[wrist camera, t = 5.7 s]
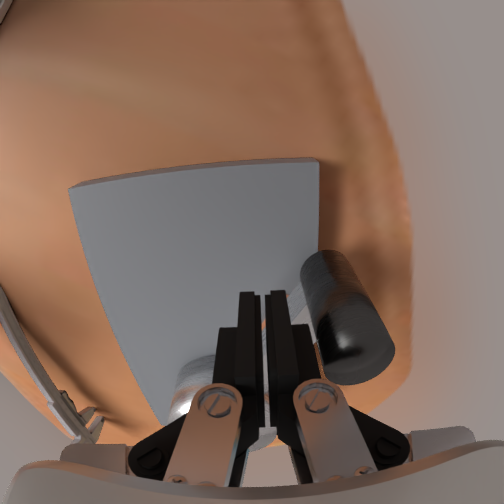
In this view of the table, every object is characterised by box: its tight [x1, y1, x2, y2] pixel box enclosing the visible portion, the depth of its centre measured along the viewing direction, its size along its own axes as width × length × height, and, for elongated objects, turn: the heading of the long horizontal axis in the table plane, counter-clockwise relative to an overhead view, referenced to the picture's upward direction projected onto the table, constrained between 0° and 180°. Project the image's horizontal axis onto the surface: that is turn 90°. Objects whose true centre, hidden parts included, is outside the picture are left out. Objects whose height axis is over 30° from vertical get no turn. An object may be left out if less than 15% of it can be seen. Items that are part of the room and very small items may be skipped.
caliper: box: [0, 286, 104, 444], centre depth 19 cm, size 20×1×6 cm, turn 17°
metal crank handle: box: [167, 250, 395, 452], centre depth 15 cm, size 16×7×7 cm, turn 151°
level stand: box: [68, 158, 319, 426], centre depth 19 cm, size 22×13×2 cm, turn 4°
